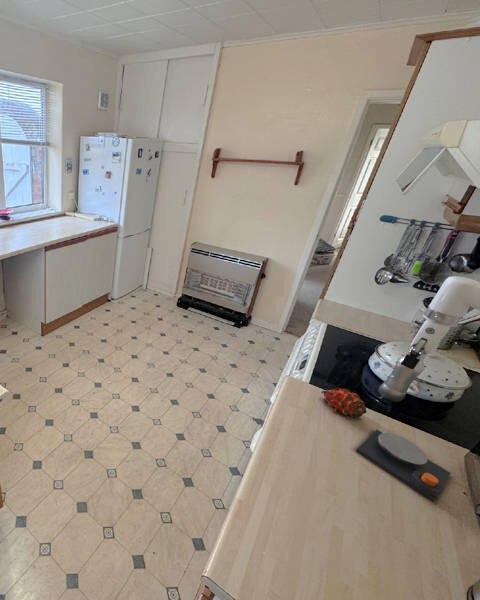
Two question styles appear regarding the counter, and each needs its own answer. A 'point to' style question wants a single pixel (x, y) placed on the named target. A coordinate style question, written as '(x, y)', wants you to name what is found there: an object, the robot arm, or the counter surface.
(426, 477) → the tare button
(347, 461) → the counter surface
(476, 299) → the robot arm
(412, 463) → the scale pan
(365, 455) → the scale
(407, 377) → the plastic bottle
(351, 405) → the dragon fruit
